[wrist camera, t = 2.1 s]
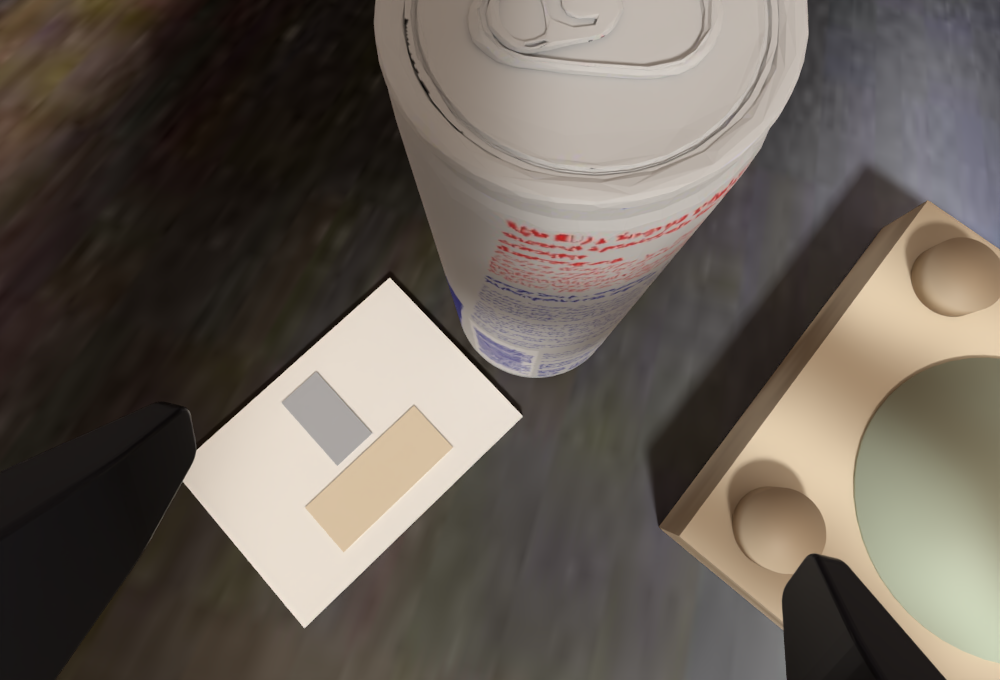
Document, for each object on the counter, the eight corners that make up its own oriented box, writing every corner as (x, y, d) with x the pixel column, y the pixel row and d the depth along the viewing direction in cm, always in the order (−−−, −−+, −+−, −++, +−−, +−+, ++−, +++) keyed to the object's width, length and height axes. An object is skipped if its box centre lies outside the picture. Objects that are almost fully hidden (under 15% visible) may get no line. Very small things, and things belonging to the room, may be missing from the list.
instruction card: (307, 625, 20) (303, 628, 20) (178, 470, 21) (172, 470, 21) (522, 416, 21) (522, 415, 21) (391, 279, 22) (389, 277, 22)
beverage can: (642, 300, 22) (914, -12, 7) (539, 412, 21) (615, 307, 7) (530, 203, 23) (577, -253, 8) (427, 307, 22) (275, 9, 8)
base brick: (1020, 826, 19) (1127, 902, 16) (658, 527, 21) (687, 539, 17) (1227, 471, 21) (1360, 473, 18) (882, 228, 23) (944, 189, 19)
